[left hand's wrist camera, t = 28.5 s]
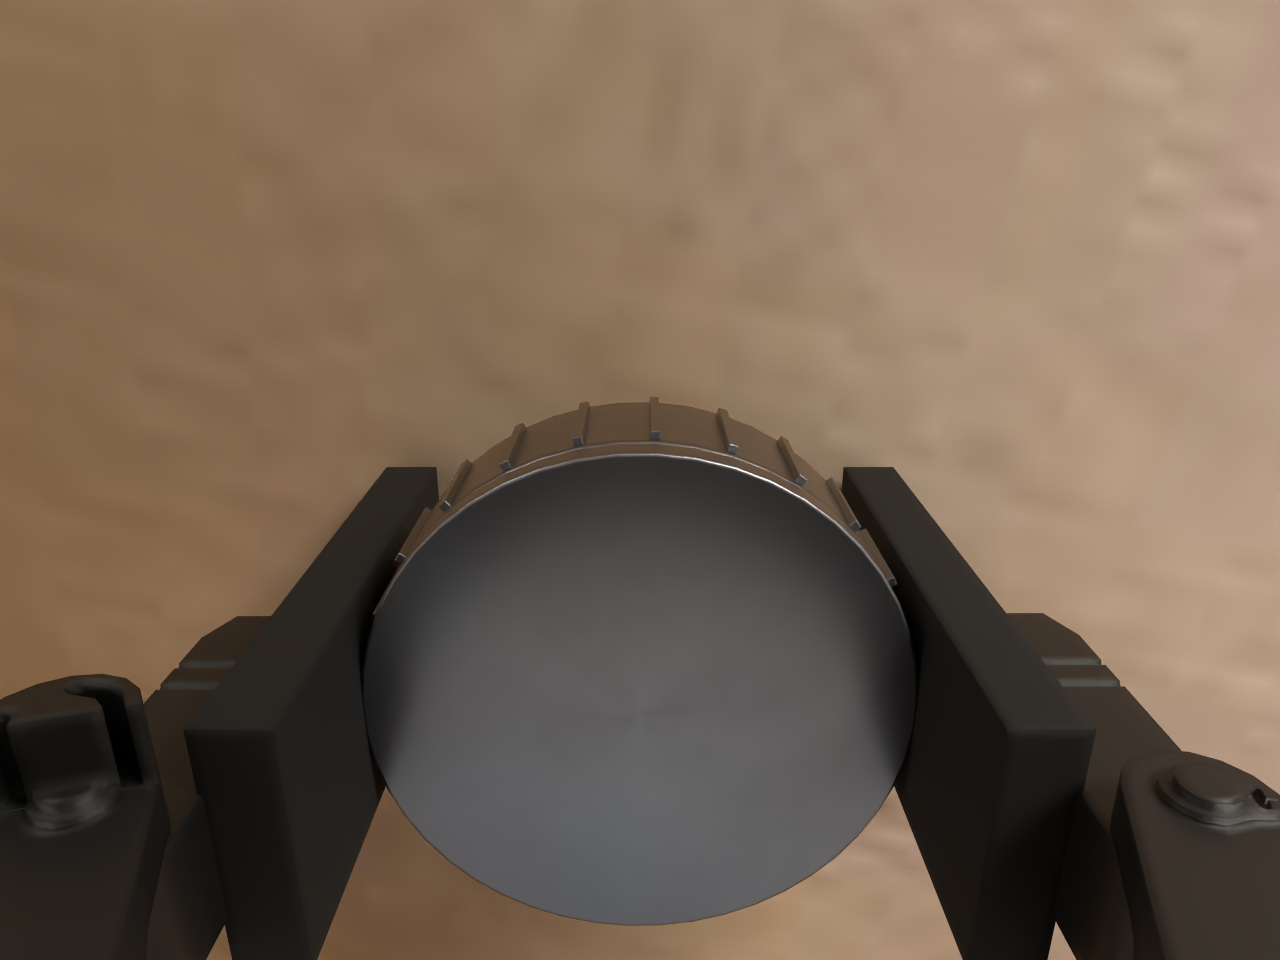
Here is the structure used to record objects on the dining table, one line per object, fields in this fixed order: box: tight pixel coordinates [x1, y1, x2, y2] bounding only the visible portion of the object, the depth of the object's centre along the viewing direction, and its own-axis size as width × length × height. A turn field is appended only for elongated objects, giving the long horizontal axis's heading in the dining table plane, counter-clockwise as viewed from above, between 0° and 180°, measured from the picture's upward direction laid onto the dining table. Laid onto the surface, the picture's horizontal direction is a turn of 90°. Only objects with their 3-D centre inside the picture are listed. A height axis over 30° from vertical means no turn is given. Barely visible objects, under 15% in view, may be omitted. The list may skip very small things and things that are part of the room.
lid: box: [362, 397, 918, 925], centre depth 11 cm, size 6×6×2 cm
